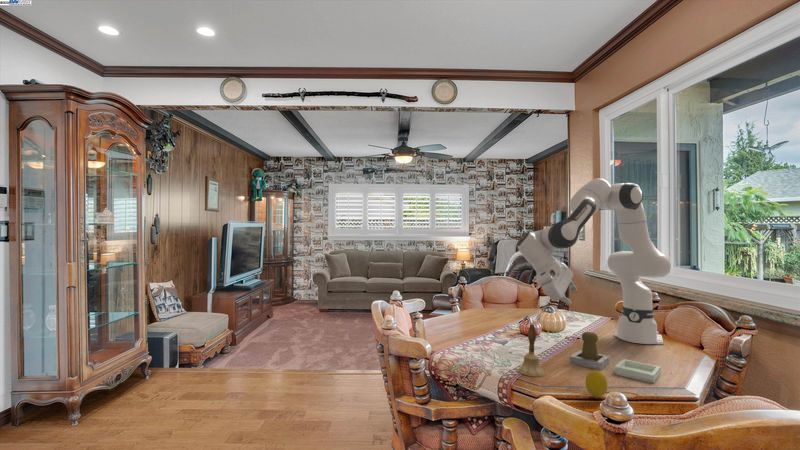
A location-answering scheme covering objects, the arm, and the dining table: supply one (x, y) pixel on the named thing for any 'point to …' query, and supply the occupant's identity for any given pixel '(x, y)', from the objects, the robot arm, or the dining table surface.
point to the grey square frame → (590, 361)
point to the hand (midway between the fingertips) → (573, 297)
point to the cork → (589, 346)
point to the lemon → (596, 383)
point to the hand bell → (531, 357)
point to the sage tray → (638, 370)
